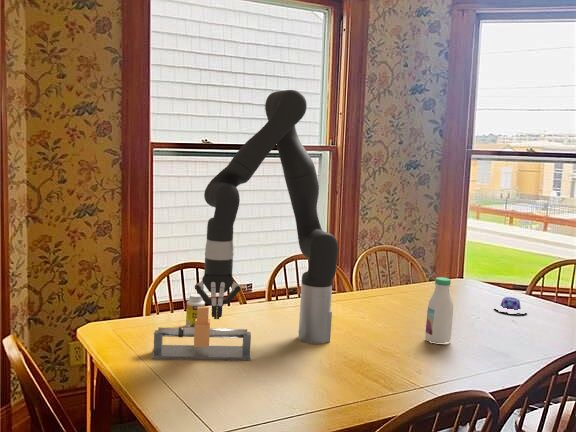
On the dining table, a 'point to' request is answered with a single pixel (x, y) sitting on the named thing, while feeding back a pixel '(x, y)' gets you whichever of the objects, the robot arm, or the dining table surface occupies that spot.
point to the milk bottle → (440, 313)
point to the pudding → (510, 303)
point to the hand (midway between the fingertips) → (216, 318)
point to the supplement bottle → (193, 309)
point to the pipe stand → (201, 352)
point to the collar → (202, 328)
